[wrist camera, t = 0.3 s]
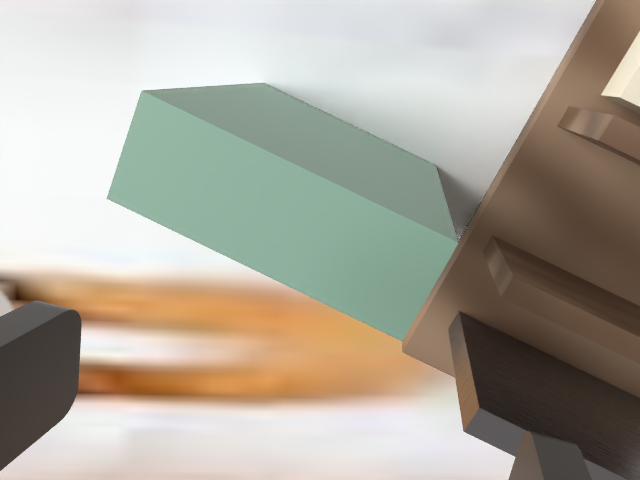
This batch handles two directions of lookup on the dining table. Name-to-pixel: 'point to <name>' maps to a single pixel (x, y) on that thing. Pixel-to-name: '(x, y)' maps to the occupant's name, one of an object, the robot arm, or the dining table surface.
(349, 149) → the book
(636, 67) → the toppled book
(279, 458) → the dining table surface
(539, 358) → the bookend
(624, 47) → the book rack
